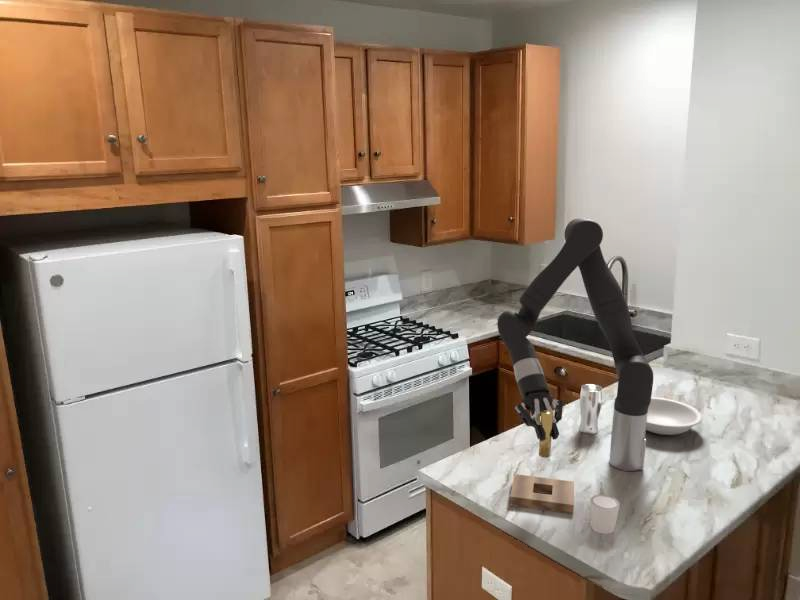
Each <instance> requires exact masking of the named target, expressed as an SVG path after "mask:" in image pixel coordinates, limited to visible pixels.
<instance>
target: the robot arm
mask: <svg viewBox="0 0 800 600" xmlns="http://www.w3.org/2000/svg"><path fill="white" fill-rule="evenodd" d="M603 238H604V232H603V229H602V227H601V225H600V224H599V223H598V222H597V221H595V220H593V219H589V218H585V217H576V218H574V219H572V220H571V221H569V222H568V224H567V225H566V227H565V229H564V239H565V240H564V241H565V242H564V244H563V246H562V247H561V249H560V251H559V252H558V253H557V255H556V256H555V257H554V258H553V259H552V261H551V262H550V263H549V264H548V265H547V266H546V267H545V268H544V269H542V270H541V272H539V274H537V275H536V276H535V278H534V279H533V280H532V281H531V282H530V284H529V285H528V286H527V287H526V288H525V290H524V292H523V293H522V294H521V295H520V297H519V304H520V305H521V307H520V309H519V310H518V312H515V311H512V310H506V311H503V312H502V313H500V314H499V316H498V318H497V325H496V326H497V332H498V333H499V335H500V338H501V339H502V342H503V343H504V346H505V348H506V349H507V351H508V353H509V357H510V360H511V363H512V367H513V372H514V377H515V382H516V383H517V386H518V390H519V393H520V396H521V398H522V401H521V403H518V404H517V405H516V406H515V408H514V411H515V412H516V414H517V415H518V417H519V418H520V419H521V421H522V422H523V423H524V424H525V425H526V427H532V428H534V430H535V431H534V432H535V434H536V437H537V439H538V440H539V441H544V440H545V439H546V437H545V434H544V430H543V427H542V425H540V424H541V411H543V410H549V411H552V412H553V422H552V438H551V440H553V441H555V440H557V439H559V436H560V432H559V429H558V425H557V424H558V423H559V422H560V421H562V418H563V409H564V400H563V399H559V400H558V399H555V398H553V396H552V395H551V393H550V388H549V386H548V383H547V380H546V377H545V374H544V370H543V367H542V365H541V363H540V361H539V358H538V355H537V352H536V349H535V346H534V345H533V343H532V342H531V341H530V340H529V339H528V338H527V337H528V336H529V335H530V334H531V333H532V331H533V330H534V327H535V325H536V323H537V321H538V319H539V317H540V314H541V312H542V310H543V309H544V308H545V307H546V305H547V304H548V303H549V302H550V301H551V299H552V298H553V297H554V295H555V294H556V292H557V291H558V290H559V289H560V288H561V286H562V285H563V284H564V282H565V281H566V280H567V279H568V278H569V276H571V274H572V273H573V272H574V271H575V270H576V269H577V268H579V269H578V270H579V271H580V274H581V279H582V282H583V284H584V285H583V286H584V289H585V292H586V295H587V298H588V300H589V304H590V306H591V311H592V312H593V314H594V317H595V319H596V321H597V323H598V326H599V328H600V330H601V331H602V333H603V335H604V336H605V338H606V340H607V342H608V345H609V348H610V352H611V354H612V358H613V362H614V367H615V373H616V376H617V378H618V381H617V382H618V383H617V391H616V392H617V393H616V397H615V399H614V402H613V403H614V405H613V415H612V416H613V417H612V423H611V424H612V427H611V437H610V449H609V461H608V462H609V464H610V466H612V467H614V468H615V469H618V470H621V471H626V472H636V471H644V466H645V457H646V454H645V453H646V447H647V437H646V434H647V430H646V425H647V415H648V407H649V405H650V402H651V397H652V396H653V395H652V394H653V388H654V387H653V386H654V371H653V369H652V367H651V365H650V363H649V362H648V360H647V359H646V357H645V355H644V353H643V352H642V349H641V348H640V346H639V344H638V341H637V339H636V337H635V334H634V331H633V324H632V319H631V314H630V310H629V306H628V304H627V301H626V298H625V294H624V293H623V290H622V287H621V286H620V284H619V283H618V281H617V279H616V277H615V275H614V274H613V272H612V270H611V269H610V268H609V265H608V264H607V262H606V260H605V258H604V255H603V251H602V249H601V244H602V241H603ZM552 407H553V408H554V411H553V409H552ZM526 409H527V410H526ZM528 411H529V412H530V414H529V413H528Z"/></svg>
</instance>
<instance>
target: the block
mask: <svg viewBox="0 0 800 600" xmlns="http://www.w3.org/2000/svg"><path fill="white" fill-rule="evenodd" d="M509 497H510V499H509V500H510V501H509V505H510V504H512V505H511V506H513V505H517V506H516V507H521V506H523V507H522V508H528V507H529V508H530V509H535V508H536V509H535V510H542V511H543V510H544V511H549V512H550V511H551V512H557V513H564V514H573V515H574V509H575V482H574V481H571V480H565V479H555V478H550V477H541V476H532V475H524V474H517V473H514V475H513V479H512V485H511V491H510V496H509Z"/></svg>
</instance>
